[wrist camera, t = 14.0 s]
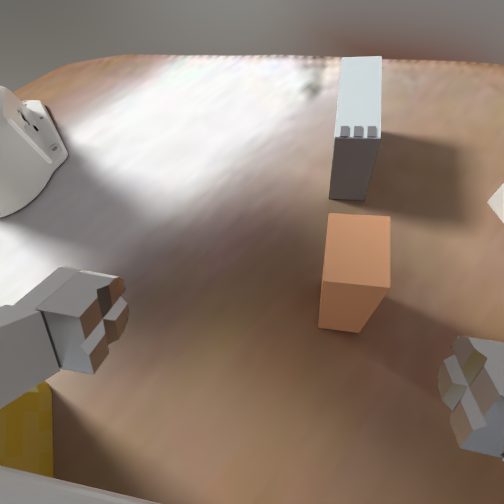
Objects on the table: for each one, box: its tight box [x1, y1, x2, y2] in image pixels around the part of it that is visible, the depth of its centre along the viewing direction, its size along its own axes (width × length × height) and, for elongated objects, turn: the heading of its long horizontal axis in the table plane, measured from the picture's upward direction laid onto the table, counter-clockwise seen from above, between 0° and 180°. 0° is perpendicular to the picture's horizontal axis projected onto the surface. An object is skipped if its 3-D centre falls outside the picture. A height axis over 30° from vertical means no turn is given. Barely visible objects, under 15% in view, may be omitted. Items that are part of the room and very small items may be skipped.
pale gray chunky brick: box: [329, 56, 382, 200], centre depth 37 cm, size 11×4×10 cm, turn 170°
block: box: [318, 213, 390, 333], centre depth 28 cm, size 5×4×14 cm
